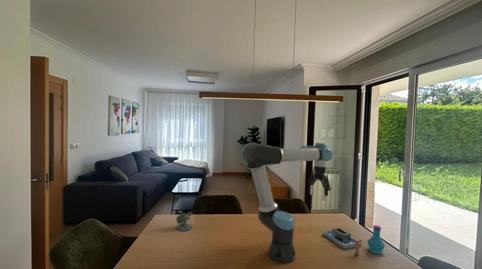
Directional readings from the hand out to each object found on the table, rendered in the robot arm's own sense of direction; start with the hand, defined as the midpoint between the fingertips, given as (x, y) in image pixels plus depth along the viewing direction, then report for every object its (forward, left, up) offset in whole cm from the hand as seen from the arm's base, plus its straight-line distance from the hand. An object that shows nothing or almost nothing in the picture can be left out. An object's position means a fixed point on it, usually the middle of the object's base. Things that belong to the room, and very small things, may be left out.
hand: (318, 197), depth 162 cm
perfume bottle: (+24, -26, -27) cm, 44 cm away
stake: (+9, -26, -27) cm, 38 cm away
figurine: (-83, +35, -27) cm, 94 cm away
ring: (+13, -9, -26) cm, 30 cm away
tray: (+13, -9, -27) cm, 31 cm away
